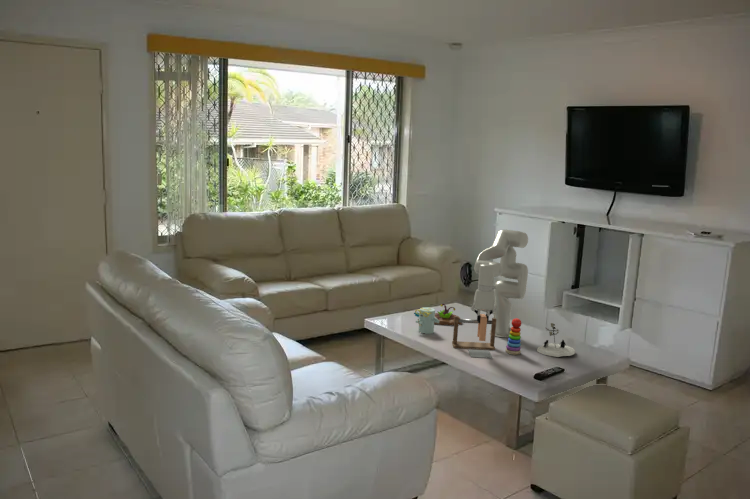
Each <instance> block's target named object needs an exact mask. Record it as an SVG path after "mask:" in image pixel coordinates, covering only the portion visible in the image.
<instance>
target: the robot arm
mask: <svg viewBox="0 0 750 499" xmlns="http://www.w3.org/2000/svg"><path fill="white" fill-rule="evenodd" d="M528 243H529V237H528V234H527V233H526V232H524V231H519V230H513V229H500V230H498V232H497V233H496V235H495V237H494V239H493V242H492V245H491V246H490V247H488V248H486V249H484V250H483V251H482V252H480V253H479V254H478V256H477V258H476V260H475V263H474V267H473V269H474V273H475V274H477V275H478V280H477V281H478V284H477V289H476V290H475V292H474V297H473V304H472V306H471V307H470V310H471V311H473V312H474V313H475V314H476V320H477V321H478V323H480V317H481V316H480V314H481V311H486V314H485V316H486V317H487V322H488V321H489V320H490V316H491V315H492V314H493V317H492V318H496V330H495V338H496V337H497V338H509V335H510V331H511V327H510V325H511V316H512V315H511V314H512V303H511V301H510V299H513V300H523V299H524V298H525V296H526V291H527V284H528V276H529V275H528V274H529V268H528V266H527V264H525V263H523V262H522V263H521V262H520V263H519V262H517V252H516V250H515V248H521V249H523V248H526V247H527V246H528ZM496 259H500V262H497V261H496V262H495V261H491V260H496ZM499 276H500V277H501V278H504V279H508V280H497V281H495V283H494V279H495V278H497V277H499ZM509 280H510V281H509ZM511 280H516V281H511ZM489 335H491V329H490V330H489Z"/></svg>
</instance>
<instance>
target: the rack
mask: <svg viewBox="0 0 750 499" xmlns="http://www.w3.org/2000/svg"><path fill="white" fill-rule="evenodd" d="M459 317H460V316H458V315H456V316H455V318H454V325H453V335H452V341H451V344H452V347H453V349H464V350H465V349H467V350H487V351H495V350H496V346H495V338H496V336H495V330H496V318H493V317H492V318H491V319H489V321H488V322H487V325H491V327H490V330H491V334H490V339H489V340H490V341H489V342H480V341H479V342H477V341H476V342H475V341H459V340H458V334H459V332H458V331H459V325H458V323H462V324H477V325H478V321H477V319H472V318H460V319H459Z"/></svg>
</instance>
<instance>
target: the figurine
mask: <svg viewBox="0 0 750 499" xmlns="http://www.w3.org/2000/svg"><path fill="white" fill-rule="evenodd" d="M550 327H551V328H552V329H550V328H547V327H545V329H546V331H549V336H550V337H551V336H553V339H554V343H549V339H546V340H545V341H544V342H543V344H542V345H541V346H539V347H537V349H536V352H537V353H539V354H542V355H544V356H550V357H554V358H556V357H557V358H559V357H570V356H573V355H575V354H576V350H575V349H574V348H573V347H571V346H569V345H566V342H565V340H564V339H562V340H561V341H560V343H556V337H555V336H557V334H559V332H560V331H559V329H558V328H556V324H555V323H553V322H551V323H550ZM555 332H556V333H555Z"/></svg>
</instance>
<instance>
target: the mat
mask: <svg viewBox="0 0 750 499" xmlns="http://www.w3.org/2000/svg"><path fill="white" fill-rule="evenodd" d="M467 351H468V353H469V356H470V358H478V359H480V358H481V359H493V355H492V354H491V350H483V349H467Z"/></svg>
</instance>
